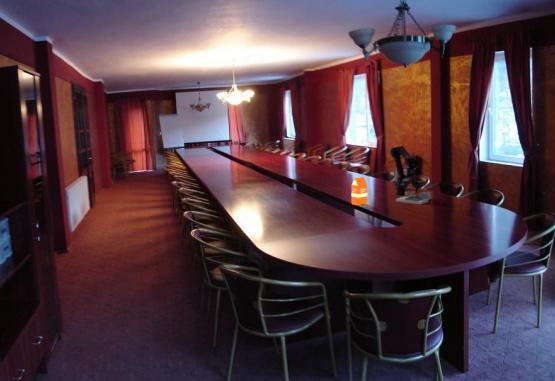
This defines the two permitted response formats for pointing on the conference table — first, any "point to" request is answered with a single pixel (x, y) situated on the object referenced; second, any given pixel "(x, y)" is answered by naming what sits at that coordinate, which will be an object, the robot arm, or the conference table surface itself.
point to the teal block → (425, 195)
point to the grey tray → (412, 200)
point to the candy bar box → (397, 176)
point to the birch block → (410, 193)
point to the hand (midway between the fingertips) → (410, 193)
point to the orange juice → (359, 191)
